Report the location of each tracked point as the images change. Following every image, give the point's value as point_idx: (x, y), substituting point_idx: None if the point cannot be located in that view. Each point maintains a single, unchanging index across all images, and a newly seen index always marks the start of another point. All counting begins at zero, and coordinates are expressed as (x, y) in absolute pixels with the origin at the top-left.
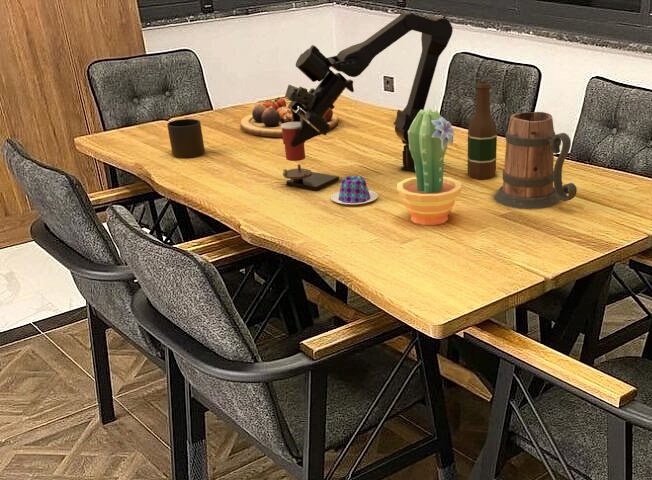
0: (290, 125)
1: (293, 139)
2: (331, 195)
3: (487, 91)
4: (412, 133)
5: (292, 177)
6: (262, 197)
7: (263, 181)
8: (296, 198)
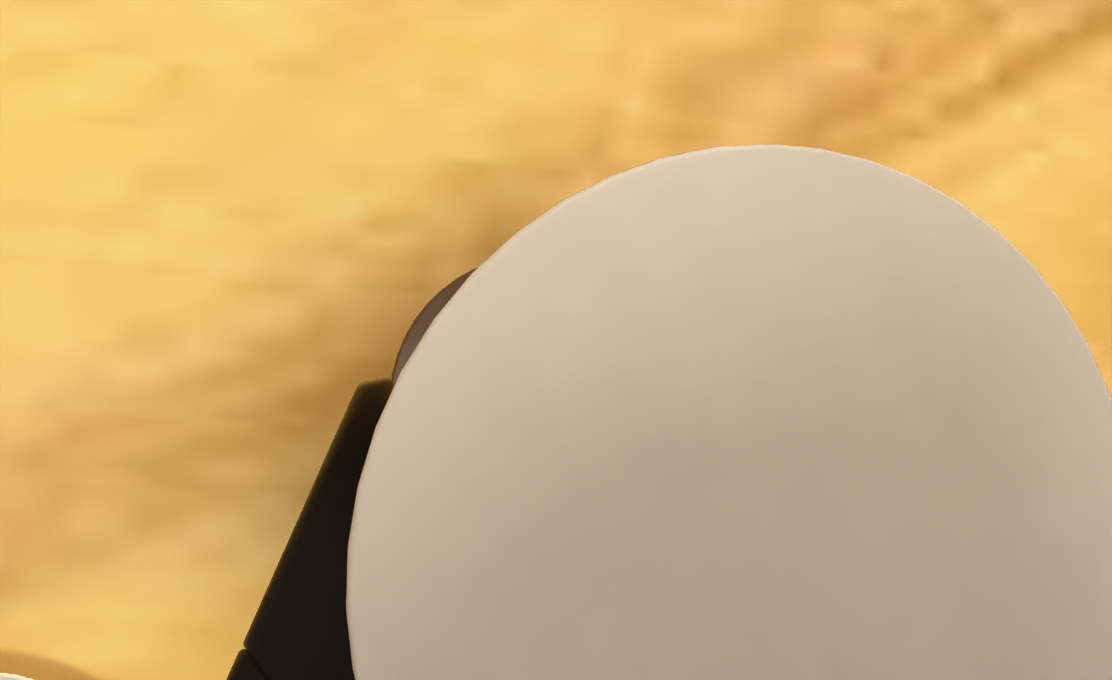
0: (684, 494)
1: (343, 465)
2: (26, 678)
3: None
4: None
5: (404, 341)
6: (251, 55)
7: (695, 110)
8: (139, 346)
